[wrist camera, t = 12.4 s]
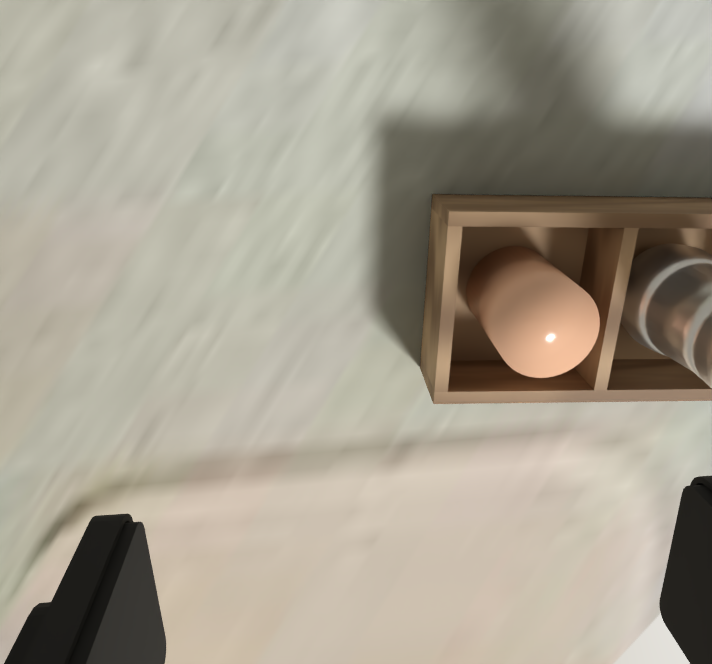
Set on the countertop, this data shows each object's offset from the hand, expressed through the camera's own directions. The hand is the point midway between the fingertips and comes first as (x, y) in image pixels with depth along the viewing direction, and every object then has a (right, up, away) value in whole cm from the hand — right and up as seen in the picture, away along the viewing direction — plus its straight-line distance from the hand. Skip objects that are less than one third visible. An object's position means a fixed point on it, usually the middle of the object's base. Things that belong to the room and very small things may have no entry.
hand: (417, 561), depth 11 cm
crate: (+14, +7, +30) cm, 34 cm away
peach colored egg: (+9, +7, +29) cm, 31 cm away
